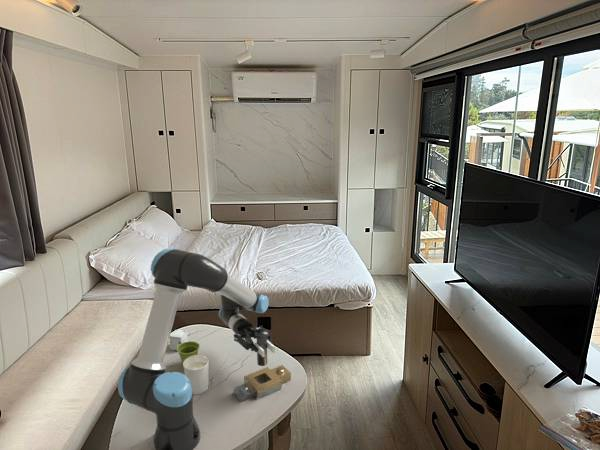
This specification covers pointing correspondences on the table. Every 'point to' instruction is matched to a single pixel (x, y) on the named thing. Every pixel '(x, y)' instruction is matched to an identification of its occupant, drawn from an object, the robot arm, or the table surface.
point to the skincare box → (177, 338)
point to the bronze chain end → (274, 376)
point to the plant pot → (187, 350)
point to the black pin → (262, 345)
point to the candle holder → (197, 373)
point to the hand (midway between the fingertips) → (268, 351)
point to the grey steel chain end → (247, 392)
